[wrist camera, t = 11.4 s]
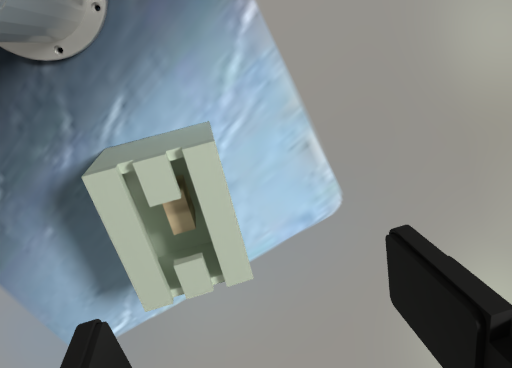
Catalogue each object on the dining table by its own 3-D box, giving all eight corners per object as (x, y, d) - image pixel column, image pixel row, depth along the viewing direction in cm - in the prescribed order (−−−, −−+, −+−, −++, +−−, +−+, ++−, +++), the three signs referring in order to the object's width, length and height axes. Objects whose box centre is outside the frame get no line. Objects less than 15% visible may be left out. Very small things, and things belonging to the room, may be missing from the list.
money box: (104, 148, 38) (81, 177, 29) (209, 121, 39) (214, 141, 30) (153, 262, 44) (145, 312, 36) (241, 236, 45) (253, 278, 37)
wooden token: (175, 216, 42) (162, 180, 40) (195, 210, 42) (183, 174, 40) (174, 235, 37) (159, 195, 35) (196, 228, 38) (182, 189, 36)
